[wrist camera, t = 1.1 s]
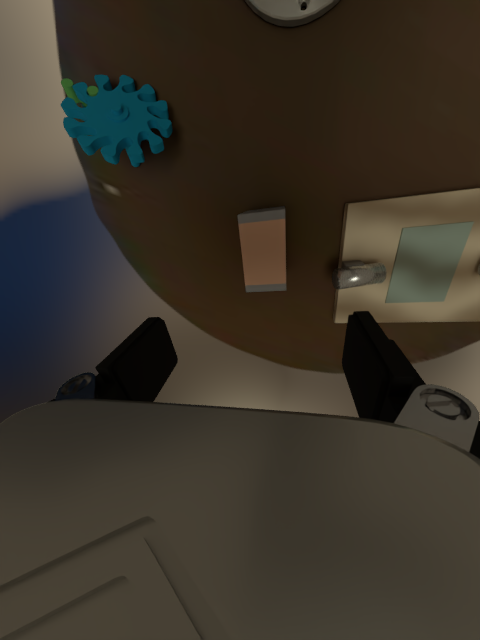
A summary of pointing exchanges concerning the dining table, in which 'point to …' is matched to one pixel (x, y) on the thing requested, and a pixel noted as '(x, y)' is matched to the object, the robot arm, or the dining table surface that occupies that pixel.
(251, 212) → the orange and grey block
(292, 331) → the dining table surface
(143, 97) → the gear
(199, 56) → the dining table surface
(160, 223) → the dining table surface
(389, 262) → the base
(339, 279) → the shaft angled
